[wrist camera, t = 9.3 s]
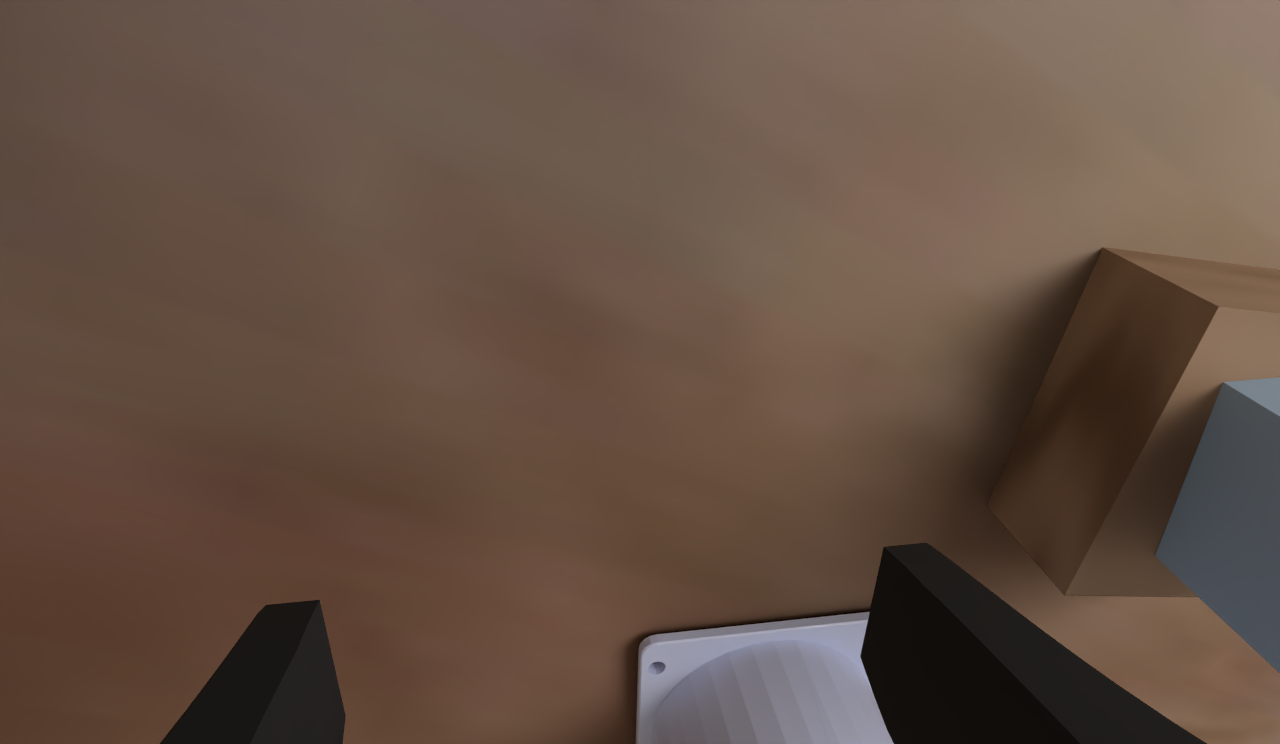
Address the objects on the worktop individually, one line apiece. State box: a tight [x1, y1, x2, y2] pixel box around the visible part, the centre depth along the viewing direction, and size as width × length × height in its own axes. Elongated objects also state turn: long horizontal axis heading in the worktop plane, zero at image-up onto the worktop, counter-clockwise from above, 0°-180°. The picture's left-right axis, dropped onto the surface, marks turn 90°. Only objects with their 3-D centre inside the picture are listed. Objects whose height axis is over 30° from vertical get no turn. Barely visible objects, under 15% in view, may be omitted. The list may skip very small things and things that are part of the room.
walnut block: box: [987, 248, 1280, 597], centre depth 21 cm, size 8×8×4 cm
